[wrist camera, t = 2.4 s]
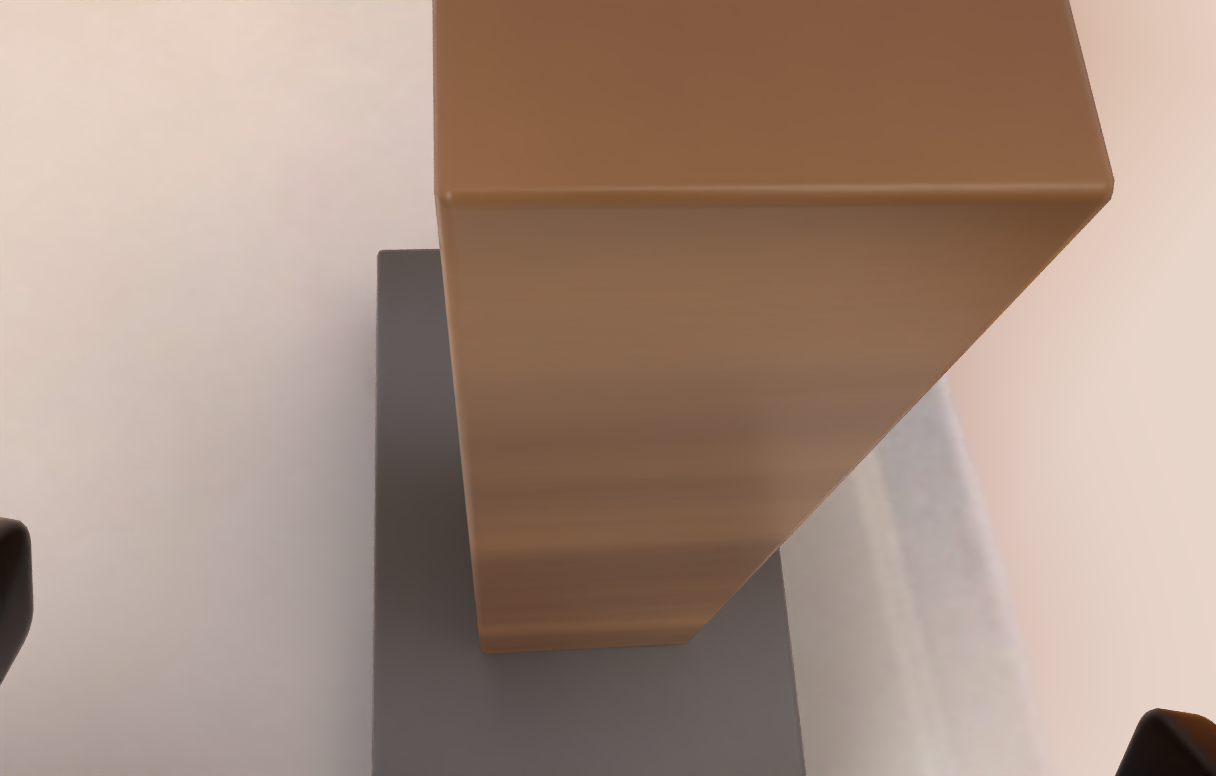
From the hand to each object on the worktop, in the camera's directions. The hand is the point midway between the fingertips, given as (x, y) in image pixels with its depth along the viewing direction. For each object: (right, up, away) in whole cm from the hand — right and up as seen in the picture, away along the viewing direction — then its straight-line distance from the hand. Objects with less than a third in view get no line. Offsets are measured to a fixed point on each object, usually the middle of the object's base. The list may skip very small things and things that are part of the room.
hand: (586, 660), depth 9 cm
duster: (0, -1, +10) cm, 10 cm away
